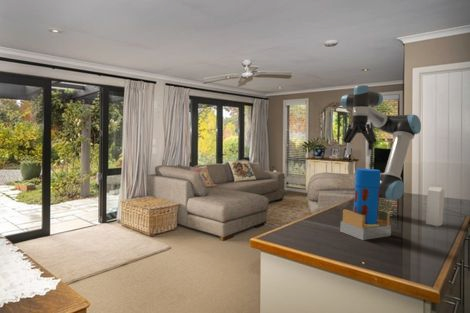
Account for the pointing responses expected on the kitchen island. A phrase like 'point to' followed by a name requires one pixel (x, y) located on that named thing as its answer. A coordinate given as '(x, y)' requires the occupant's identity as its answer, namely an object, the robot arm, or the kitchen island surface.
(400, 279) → the kitchen island surface
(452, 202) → the kitchen island surface
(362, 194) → the thermos
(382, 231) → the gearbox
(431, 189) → the milk
